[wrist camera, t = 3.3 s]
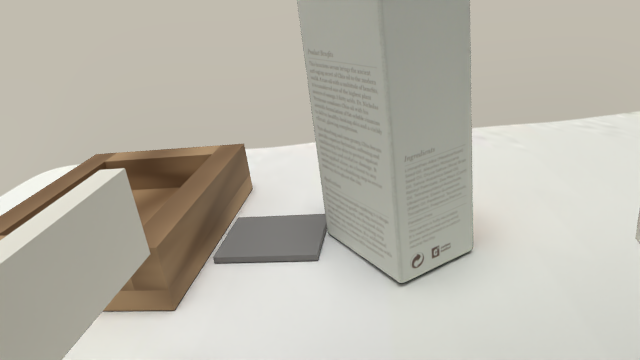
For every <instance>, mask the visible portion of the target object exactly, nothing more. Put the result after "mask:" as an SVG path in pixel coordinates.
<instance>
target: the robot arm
mask: <svg viewBox="0 0 640 360" xmlns="http://www.w3.org/2000/svg"><path fill="white" fill-rule="evenodd" d="M636 239H637V241H638V242H639V243H640V210H639V217H638V224H637V231H636ZM149 255H150V251H149V247H148V244H147V240H146V237H145V234H144V230H143V227H142V224H141V220H140V217H139V214H138V210H137V207H136V204H135V200H134V197H133V194H132V190H131V187H130V184H129V180H128V177H127V174H126V170H125V168H120V169H105V170H99V171H97V172H96V173H95V174H93V175H92V176H90V177H89V178H88V179H86V180H85V181H83V182H82V183H81V184H79V185H78V186H76V187H75V188H73V189H72V190H71V191H69V192H68V193H66V194H65V195H64V196H62V197H61V198H59V199H58V200H57V201H55V202H54V203H52V204H51V205H49V206H48V207H47V208H45V209H44V210H42V211H41V212H40V213H38V214H37V215H35V216H34V217H33V218H31V219H30V220H28V221H27V222H25V223H24V224H23V225H21V226H20V227H18V228H17V229H16V230H14V231H13V232H11V233H10V234H9V235H7V236H6V237H4V238H3V239H1V240H0V360H62V359H63V358H64V356H65V355H66V354H67V353H68V352H69V350H70V349H71V348H72V347H73V346H74V345H75V343H76V342H77V341H78V340H79V339H80V337H81V336H82V335H83V334H84V333H85V331H86V330H87V329H88V328H89V327H90V325H91V324H92V323H93V322H94V321H95V319H96V318H97V317H98V316H99V315H100V314H101V312H102V311H103V310H104V309H105V308H106V306H107V305H108V304H109V303H110V302H111V300H112V299H113V298H114V297H115V296H116V294H117V293H118V292H119V291H120V290H121V288H122V287H123V286H124V285H125V284H126V283H127V281H128V280H129V279H130V278H131V277H132V275H133V274H134V273H135V272H136V271H137V269H138V268H139V267H140V266H141V265H142V263H143V262H144V261H145V260H146V259H147V257H148V256H149Z"/></svg>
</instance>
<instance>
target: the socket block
mask: <svg viewBox="0 0 640 360" xmlns="http://www.w3.org/2000/svg"><path fill="white" fill-rule="evenodd" d="M120 168H125V170H126V174H127V177H128V180H129V184H130V187H131V190H132V194H133V197H134V200H135V204H136V207H137V210H138V214H139V217H140V220H141V224H142V227H143V230H144V234H145V237H146V240H147V244H148V247H149V251H150V255H149V256H148V257H147V259H146V260H145V261H144V262H143V263H142V265H141V266H140V267H139V268H138V269H137V271H136V272H135V273H134V274H133V275H132V277H131V278H130V279H129V280H128V281H127V283H126V284H125V285H124V286H123V287H122V288H121V290H120V291H119V292H118V293H117V294H116V296H115V297H114V298H113V299H112V300H111V302H110V303H109V304H108V305H107V306H106V308H105V309H104V310H103V311H142V310H175V309H176V307H177V306H178V304H179V302H180V301H181V299H182V298H183V296H184V295H185V293H186V292H187V290H188V288H189V287H190V285H191V284H192V282H193V281H194V279H195V278H196V276H197V274H198V273H199V271H200V270H201V268H202V267H203V265H204V264H205V262H206V260H207V259H208V257H209V256H210V254H211V253H212V251H213V250H214V248H215V246H216V245H217V243H218V242H219V240H220V239H221V237H222V236H223V234H224V232H225V231H226V229H227V228H228V226H229V225H230V223H231V222H232V220H233V218H234V217H235V215H236V214H237V212H238V211H239V209H240V207H241V206H242V204H243V203H244V201H245V200H246V198H247V197H248V195H249V193H250V192H251V190H252V189H253V188H252V183H251V177H250V172H249V167H248V162H247V157H246V152H245V147H244V144H235V145H222V146H221V145H220V146H207V147H193V148H178V149H164V150H152V151H151V150H150V151H136V152H123V153H108V154H96V155H94V156H93V157H91V158H90V159H88V160H87V161H85V162H84V163H82V164H80V165H79V166H77V167H76V168H74V169H73V170H71V171H70V172H68V173H67V174H65V175H63V176H62V177H60V178H59V179H57V180H56V181H54V182H53V183H51V184H49V185H48V186H46V187H45V188H43V189H42V190H40V191H39V192H37V193H36V194H34V195H32V196H31V197H29V198H28V199H26V200H25V201H23V202H22V203H20V204H18V205H17V206H15V207H14V208H12V209H11V210H9V211H8V212H6V213H5V214H3V215H1V216H0V240H1V239H3V238H4V237H6V236H7V235H9V234H10V233H11V232H13V231H14V230H16V229H17V228H18V227H20V226H21V225H23V224H24V223H25V222H27V221H28V220H30V219H31V218H33V217H34V216H35V215H37V214H38V213H40V212H41V211H42V210H44V209H45V208H47V207H48V206H49V205H51V204H52V203H54V202H55V201H57V200H58V199H59V198H61V197H62V196H64V195H65V194H66V193H68V192H69V191H71V190H72V189H73V188H75V187H76V186H78V185H79V184H81V183H82V182H83V181H85V180H86V179H88V178H89V177H90V176H92V175H93V174H95V173H96V172H97V171H99V170H105V169H120Z"/></svg>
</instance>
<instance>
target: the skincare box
mask: <svg viewBox="0 0 640 360" xmlns="http://www.w3.org/2000/svg"><path fill="white" fill-rule="evenodd" d="M297 4H298V12H299V18H300V27H301V33H302V34H301V35H302V42H303V50H304V56H305V64H306V72H307V79H308V87H309V95H310V102H311V110H312V117H313V124H314V132H315V140H316V147H317V154H318V162H319V169H320V177H321V185H322V192H323V200H324V207H325V215H326V223H327V229H328V233H329V234H330V235H332V236H333V237H335V238H336V239H338V240H339V241H341V242H342V243H344V244H345V245H346V246H348V247H349V248H351V249H352V250H353V251H355V252H356V253H358V254H359V255H361V256H362V257H364V258H365V259H366V260H368V261H369V262H371V263H372V264H374V265H375V266H377V267H378V268H379V269H381V270H382V271H384V272H385V273H386V274H388V275H389V276H391V277H392V278H394V279H395V280H396V281H398V282H399V283H404V282H406V281H409V280H411V279H413V278H415V277H417V276H419V275H421V274H423V273H425V272H427V271H429V270H431V269H433V268H435V267H438V266H440V265H442V264H443V263H445V262H448V261H450V260H452V259H454V258H456V257H458V256H460V255H462V254H465V253H467V252H469V251H470V250H471V249H472V248H473V203H472V122H471V121H472V120H471V51H470V0H297Z"/></svg>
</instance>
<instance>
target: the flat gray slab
mask: <svg viewBox="0 0 640 360" xmlns="http://www.w3.org/2000/svg"><path fill="white" fill-rule="evenodd" d="M326 229H327V223H326V215H325V214H312V215H289V216H266V217H243V218H238V219H237V220H236V222H235V224H234V225H233V227H232V228H231V230H230V232H229V233H228V235H227V236H226V238H225V240H224V241H223V243H222V244H221V246H220V248H219V249H218V251H217V252H216V254H215V256H214V257H213V259H214V263H235V262H274V261H313V260H318V258H319V254H320V250H321V247H322V243H323V239H324V236H325V232H326Z"/></svg>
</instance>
